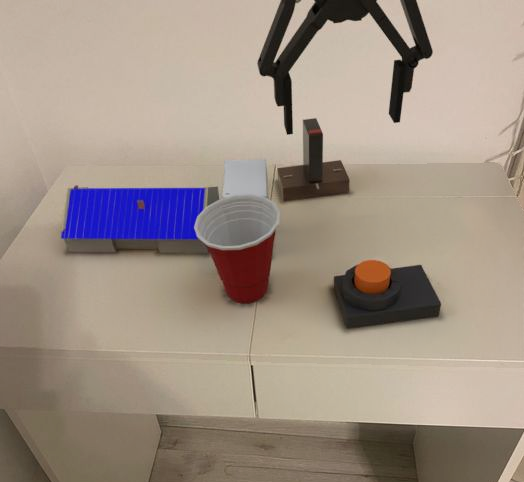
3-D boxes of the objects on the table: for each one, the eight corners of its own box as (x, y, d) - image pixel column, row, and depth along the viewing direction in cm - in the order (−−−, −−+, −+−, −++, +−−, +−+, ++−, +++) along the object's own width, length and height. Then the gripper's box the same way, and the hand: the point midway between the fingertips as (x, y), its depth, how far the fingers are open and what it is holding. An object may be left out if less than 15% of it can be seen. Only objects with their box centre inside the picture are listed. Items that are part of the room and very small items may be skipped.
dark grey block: (303, 165, 93) (302, 118, 87) (316, 164, 93) (316, 116, 87) (309, 182, 90) (308, 134, 84) (322, 181, 90) (323, 132, 84)
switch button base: (419, 276, 76) (423, 253, 73) (438, 316, 71) (444, 293, 68) (333, 288, 76) (334, 265, 73) (346, 329, 70) (348, 306, 67)
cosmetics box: (271, 257, 81) (267, 195, 73) (228, 260, 82) (219, 198, 74) (270, 217, 88) (266, 155, 81) (230, 219, 89) (222, 158, 81)
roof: (67, 255, 85) (50, 214, 80) (94, 204, 94) (81, 164, 89) (207, 256, 82) (199, 214, 77) (221, 204, 92) (215, 163, 86)
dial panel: (338, 168, 97) (338, 154, 95) (351, 198, 90) (352, 183, 88) (276, 176, 97) (275, 162, 95) (284, 206, 90) (284, 192, 88)
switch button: (383, 270, 72) (385, 257, 71) (393, 292, 69) (395, 279, 68) (350, 274, 72) (351, 262, 70) (358, 296, 69) (359, 284, 67)
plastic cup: (194, 282, 79) (179, 209, 70) (262, 256, 82) (255, 184, 73) (226, 328, 72) (214, 254, 63) (298, 299, 75) (296, 224, 66)
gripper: (227, -65, 52) (246, 148, 67) (488, -92, 52) (447, 126, 68) (223, -81, 57) (241, 121, 73) (461, -105, 57) (429, 100, 73)
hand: (341, 124), depth 70 cm, fingers open, 13 cm apart
